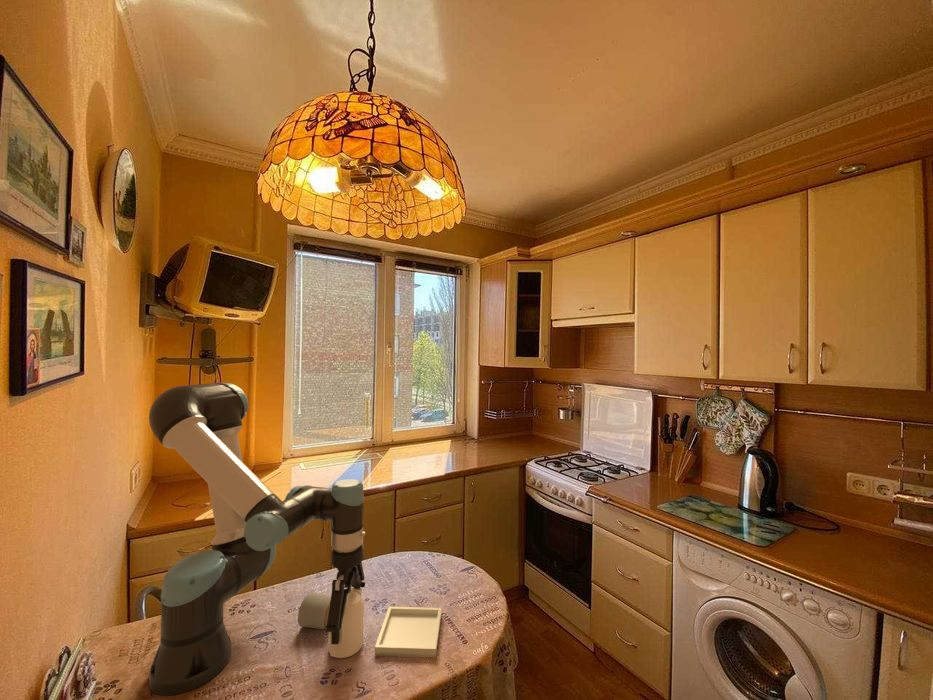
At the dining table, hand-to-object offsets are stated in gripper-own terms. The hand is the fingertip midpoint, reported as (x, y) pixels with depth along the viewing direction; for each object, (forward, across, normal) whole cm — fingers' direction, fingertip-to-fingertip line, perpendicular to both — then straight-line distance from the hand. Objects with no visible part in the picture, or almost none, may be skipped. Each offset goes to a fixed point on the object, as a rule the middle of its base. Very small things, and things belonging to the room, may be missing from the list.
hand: (347, 633), depth 92 cm
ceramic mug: (+4, +9, +10) cm, 14 cm away
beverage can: (+4, 0, 0) cm, 4 cm away
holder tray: (+4, +5, -15) cm, 16 cm away
